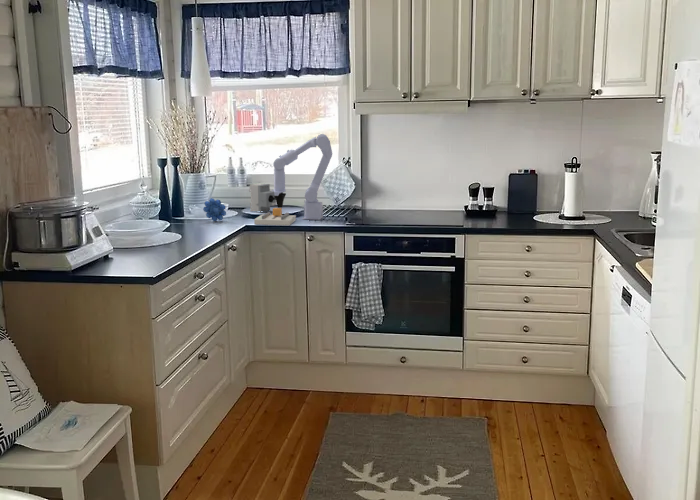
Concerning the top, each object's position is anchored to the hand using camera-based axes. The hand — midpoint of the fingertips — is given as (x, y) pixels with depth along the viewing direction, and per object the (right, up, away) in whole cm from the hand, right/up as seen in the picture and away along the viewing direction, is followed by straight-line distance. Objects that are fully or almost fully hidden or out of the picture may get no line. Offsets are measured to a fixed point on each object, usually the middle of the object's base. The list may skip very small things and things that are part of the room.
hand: (280, 207), depth 374 cm
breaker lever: (-1, -4, -5) cm, 7 cm away
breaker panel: (-2, -8, -8) cm, 12 cm away
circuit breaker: (-11, -1, +21) cm, 24 cm away
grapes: (-33, -8, -6) cm, 34 cm away
